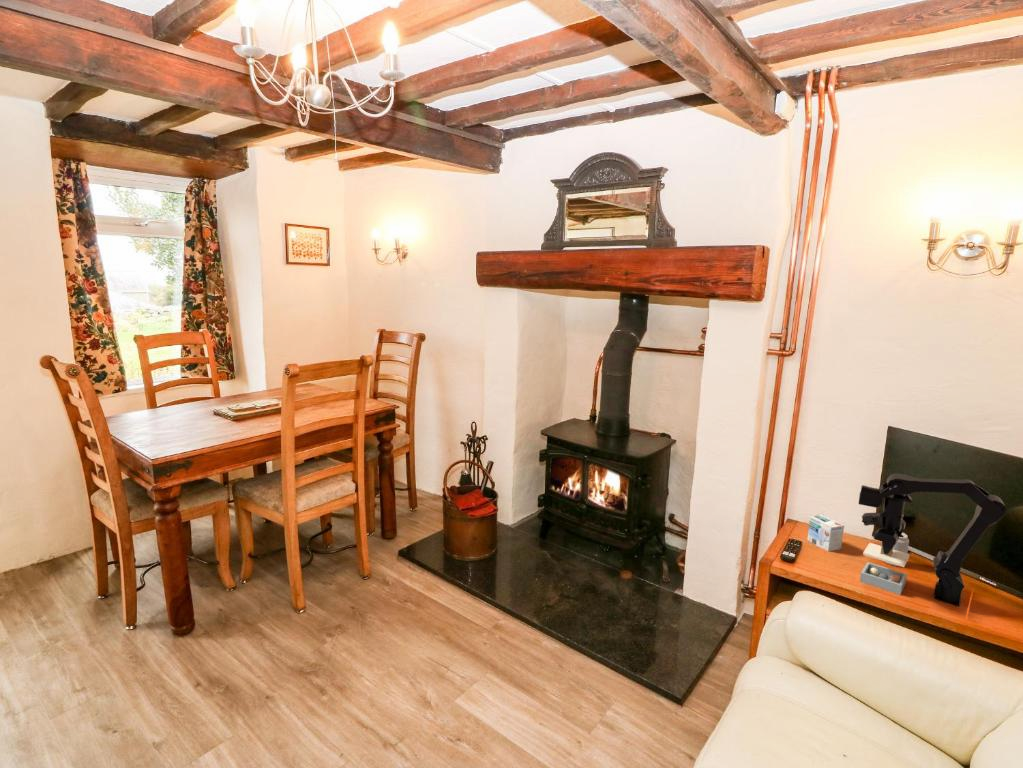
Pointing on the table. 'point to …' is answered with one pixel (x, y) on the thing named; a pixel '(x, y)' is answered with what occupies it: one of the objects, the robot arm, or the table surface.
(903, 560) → the lid
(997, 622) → the table surface
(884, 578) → the ball
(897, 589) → the box
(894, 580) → the ball
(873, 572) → the ball
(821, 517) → the light bulb box
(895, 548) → the can
